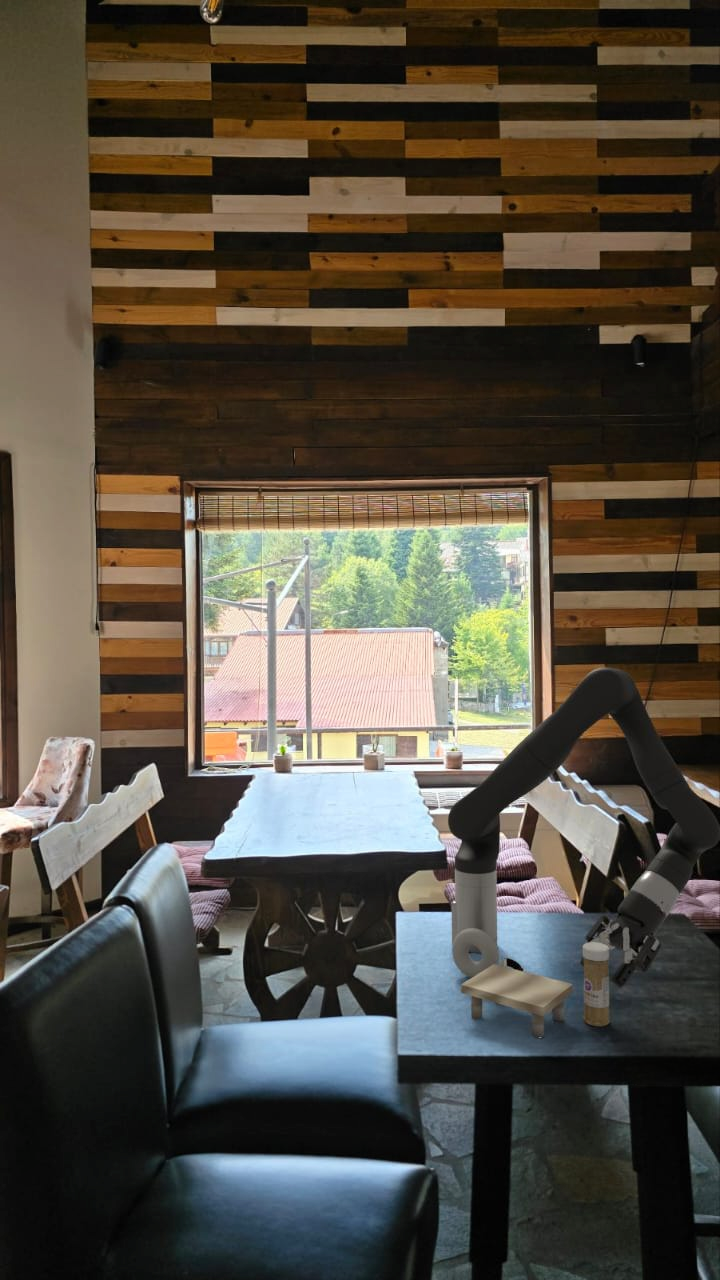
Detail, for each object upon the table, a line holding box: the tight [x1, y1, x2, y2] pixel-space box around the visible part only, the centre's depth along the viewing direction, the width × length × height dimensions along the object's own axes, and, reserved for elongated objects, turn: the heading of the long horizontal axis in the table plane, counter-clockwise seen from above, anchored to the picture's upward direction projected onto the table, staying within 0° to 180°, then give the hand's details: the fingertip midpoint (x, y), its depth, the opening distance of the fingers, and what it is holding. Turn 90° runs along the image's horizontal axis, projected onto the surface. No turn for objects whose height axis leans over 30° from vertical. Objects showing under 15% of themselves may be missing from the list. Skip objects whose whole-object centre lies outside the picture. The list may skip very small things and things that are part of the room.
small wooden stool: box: [460, 964, 574, 1039], centre depth 149 cm, size 16×12×6 cm
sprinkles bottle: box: [582, 942, 611, 1027], centre depth 148 cm, size 5×5×13 cm
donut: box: [451, 928, 500, 979], centre depth 167 cm, size 10×4×10 cm, turn 57°
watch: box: [499, 957, 525, 972], centre depth 169 cm, size 8×5×4 cm, turn 0°
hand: (599, 975), depth 148 cm, fingers open, 8 cm apart
